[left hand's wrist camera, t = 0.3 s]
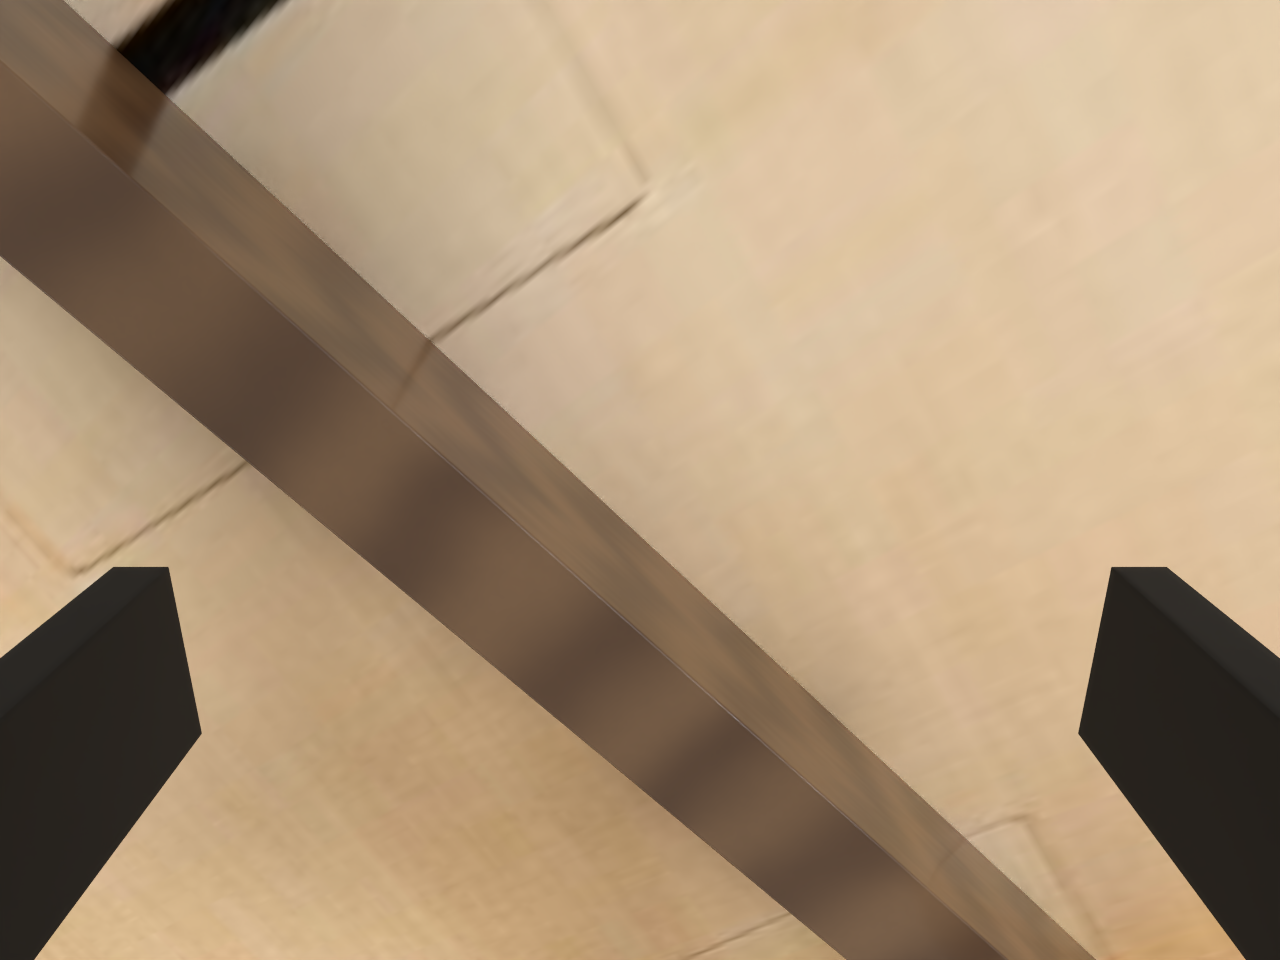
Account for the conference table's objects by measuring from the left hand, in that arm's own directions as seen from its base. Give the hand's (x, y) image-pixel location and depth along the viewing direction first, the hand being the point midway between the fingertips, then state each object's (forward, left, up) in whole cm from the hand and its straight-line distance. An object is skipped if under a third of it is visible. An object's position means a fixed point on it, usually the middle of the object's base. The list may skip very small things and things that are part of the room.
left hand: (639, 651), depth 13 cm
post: (+12, -2, -27) cm, 29 cm away
